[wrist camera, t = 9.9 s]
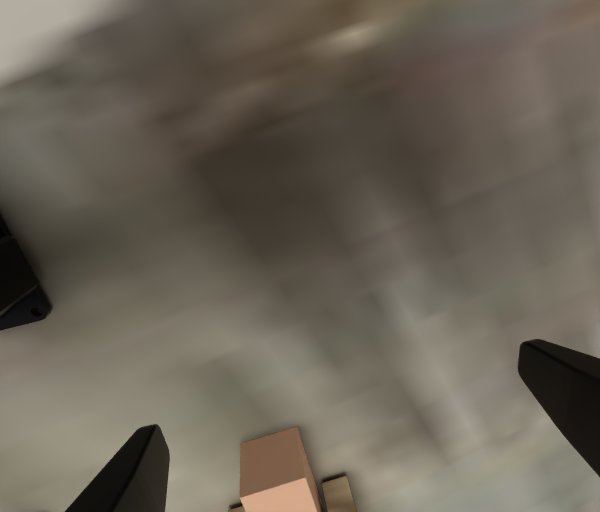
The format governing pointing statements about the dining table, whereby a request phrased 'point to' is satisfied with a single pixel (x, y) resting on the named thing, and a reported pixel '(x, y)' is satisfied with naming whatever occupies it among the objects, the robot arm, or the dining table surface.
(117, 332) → the dining table surface
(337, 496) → the block
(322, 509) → the peg
